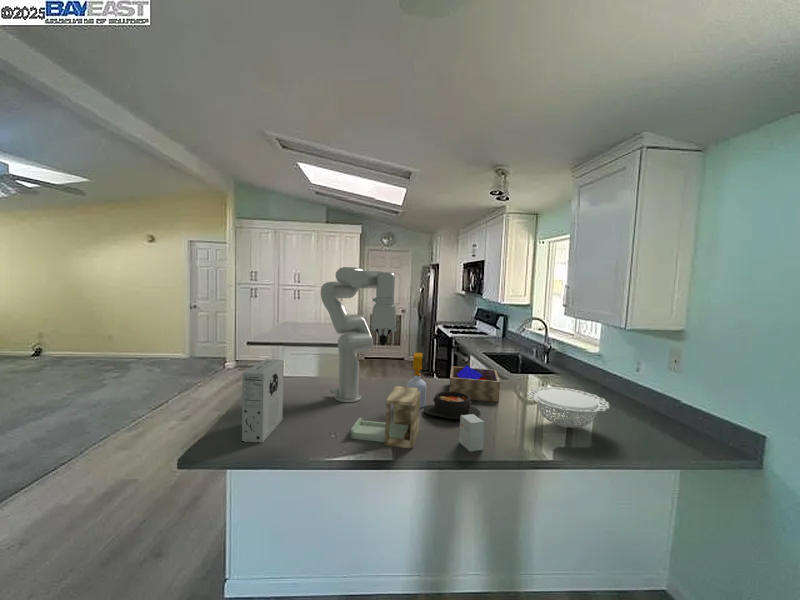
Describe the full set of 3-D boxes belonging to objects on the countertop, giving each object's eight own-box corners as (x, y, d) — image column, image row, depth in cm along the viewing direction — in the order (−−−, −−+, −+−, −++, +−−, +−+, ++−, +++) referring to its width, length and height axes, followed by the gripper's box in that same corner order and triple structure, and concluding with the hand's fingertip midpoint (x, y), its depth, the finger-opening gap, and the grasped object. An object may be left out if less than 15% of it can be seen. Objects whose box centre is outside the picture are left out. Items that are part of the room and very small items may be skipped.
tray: (350, 438, 145) (350, 429, 145) (359, 425, 157) (359, 417, 157) (403, 444, 142) (404, 435, 142) (408, 431, 154) (409, 422, 154)
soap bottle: (425, 402, 188) (428, 352, 186) (425, 409, 179) (427, 356, 177) (407, 401, 189) (409, 350, 187) (405, 407, 180) (407, 354, 178)
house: (475, 385, 218) (476, 365, 217) (492, 397, 199) (493, 375, 198) (455, 386, 216) (456, 365, 215) (470, 398, 196) (471, 375, 195)
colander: (574, 412, 183) (576, 385, 182) (626, 441, 152) (629, 409, 151) (511, 415, 176) (512, 387, 175) (552, 446, 145) (555, 413, 144)
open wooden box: (449, 397, 197) (450, 377, 196) (450, 383, 221) (451, 366, 220) (498, 401, 193) (499, 382, 193) (495, 387, 217) (496, 369, 217)
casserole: (475, 408, 183) (476, 390, 182) (484, 424, 165) (485, 404, 164) (421, 406, 182) (422, 389, 182) (425, 422, 164) (426, 402, 163)
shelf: (384, 445, 141) (386, 399, 139) (393, 426, 158) (395, 385, 156) (413, 448, 139) (415, 402, 138) (418, 429, 156) (420, 388, 155)
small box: (483, 450, 140) (485, 421, 139) (469, 452, 138) (471, 423, 137) (472, 440, 147) (473, 413, 147) (458, 442, 145) (460, 414, 145)
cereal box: (264, 418, 160) (265, 358, 158) (282, 419, 160) (283, 359, 158) (241, 442, 139) (242, 372, 137) (262, 443, 139) (263, 373, 137)
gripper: (365, 301, 162) (363, 345, 164) (401, 303, 160) (399, 347, 161) (369, 300, 170) (368, 341, 171) (403, 301, 167) (402, 344, 169)
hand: (383, 344), depth 166 cm, fingers closed
